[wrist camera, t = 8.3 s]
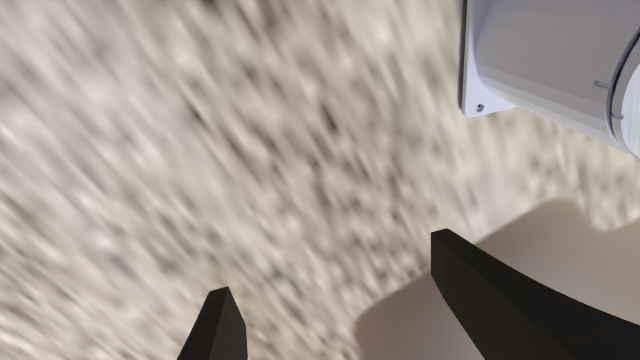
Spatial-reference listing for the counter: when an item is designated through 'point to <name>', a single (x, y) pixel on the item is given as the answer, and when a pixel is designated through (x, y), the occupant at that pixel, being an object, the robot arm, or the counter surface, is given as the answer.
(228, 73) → the counter surface
